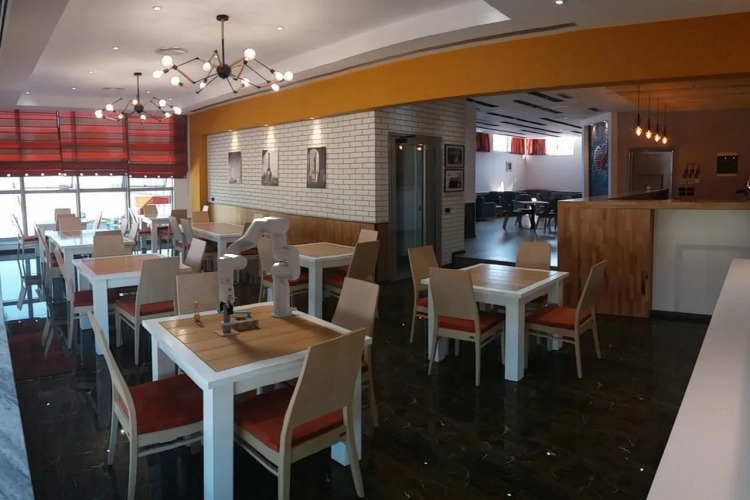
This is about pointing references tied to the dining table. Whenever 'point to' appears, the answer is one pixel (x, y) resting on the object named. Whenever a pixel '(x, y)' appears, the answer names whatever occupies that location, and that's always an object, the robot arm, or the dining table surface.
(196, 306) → the figurine
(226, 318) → the plug
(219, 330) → the tile
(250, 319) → the socket block
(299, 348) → the dining table surface
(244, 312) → the clip
